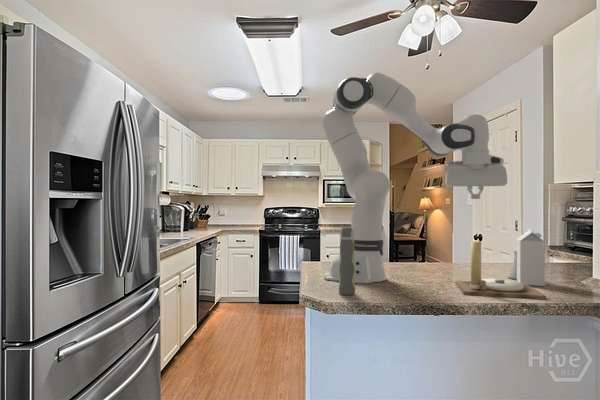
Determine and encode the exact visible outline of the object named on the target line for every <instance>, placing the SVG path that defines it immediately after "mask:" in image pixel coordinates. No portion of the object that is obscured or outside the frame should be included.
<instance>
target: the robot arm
mask: <svg viewBox="0 0 600 400" xmlns="http://www.w3.org/2000/svg"><path fill="white" fill-rule="evenodd" d="M332 100H333V102H332V103H333V104H332V109H330V110H329V111H327V112H326V113H325V114H324V115H323V117H322V119H321V121H322V126H323V130H324V134H325V137H326V139H327V141H328V143H329V145H330V148H331V150H332V152H333V154H334V156H335V159H336V161H337V163H338V165H339V169H340V170H341V173H342V178H343V180H344V184H345V186H346V192H347V194H348V195H349V196H350V197H351V198H352V199H353V200H354V207H353V212H352V214H351V215H352V216H351V218H350V219H351V220H350V221H351V228H352V229H353V230H354V266H355V283H356V284H370V283H376V282H377V283H378V282H379V283H380V282H383V281H386V280H388V279H387V275H386V271H385V267H384V266H385V265H384V258H383V257H384V254H385V252H384V250H385V247H384V246H385V244H384V239H383V215H384V209H385V205H386V200H387V195H388V193H389V191H390V189H391V182H390V179H389V177H388V176H387V175H386V174H385V173H383V172H382V171H379V170H376V169H371V168H370V167H371V166H370V162H369V159H368V150H367V148H366V146H365V143H364V141H363V139H362V137H361V135H360V133H359V131H358V129H357V127H356V125H355V123H354V118H353V116H354V115H355V114H356V113H357V112H358V111H360V109H362V107H363V106H364V105H366V104H369V105H373V106H376V107H377V108H378V109H379V110H381V111H382V112H384V113H385V114H386V115H388V116H390V117H391V118H393V119H394V120H395V121H396V122H398V123H400V125H402V126H403V127H404V128H406V129H407V130H408V131H409V132H411V133H412V134H413V135H415V136H416V137H417V138H418V139H419V140H421V141H422V142H423V143H424V145H425V146H426V147H427V150H428V151H429V152H430V153H431V154H432V155H435V156H437V157H444V156H447V155H449V154H450V153H453V152H456V151H458V150H459V151H461V160H457V161H456V160H455V161H452V160H451V161H448V162H446V163H445V164H444V173H445V178H444V179H445V180H444V181H445V182H444V184H445V186H446V187H466V189H467V191H468V193H469V194H470V200H480V199H481V194H482V193H483V192H484V187H504V186H506V185H507V184H508V173H507V168H506V167H505V165H503V164H504V161H505V160H504V158H502V157H500V156H495V155H492V154H490V150H489V146H488V145H489V139H490V138H489V137H490V131H489V124H488V120H487V118H486V117H485V116H482V115H480V114H469V115H468V114H467V115H465V116H464V117H463V118H461V119H460V120H457V121H455V122H453V123H450V124H447V125H445V126H443V127H440V128H436V127H434V126H432V125H431V124H430V123H429V122H428V121H427V120H425V119H423V118H422V117H421V116H420V115H419V113H418V112H417V110H416V108H417V107H416V104H417V101H416V97H415V94H414V93H413V92H412V90H410V89H409V88H407V87H406V86H405V85H404V84H402V83H400V82H399V81H397V80H396V79H394V78H392V77H390V76H388V75H386V74H383V73H381V72H374V73H371V74H369V76H367V78H365V77H356V76H355V77H353V76H352V77H347V78H345V79H343V80H342V81H341V82H340V83H339V85H338V86H337V88H336V89H335V92H334V96H333V99H332ZM473 187H477V189H478V190H479V191H478V192H477V193H474V192H473V191H472V190H473ZM339 269H340V253H339V254H338V255H337V256H336V257H334V258H333V259H332V261H331V263H330V268H329V271H327V272H325V273H323V274H324V275H323V279H325V280H328V281H336V282H339V279H340V271H339Z"/></svg>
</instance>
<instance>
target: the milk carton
mask: <svg viewBox="0 0 600 400" xmlns="http://www.w3.org/2000/svg"><path fill="white" fill-rule="evenodd" d="M545 248H546V246H545V241H544V240H543V239H542V234H541V233H539V232H538V231H535V232H534V231H533V229H532V228H530V227H527V231H526V232H524V233H523V234H521V235H520V236H519V237H517V238H516V251H517V280H516V282H519V283H522V284H527V285H529V286H531V287H532V286H535V287H545V286H546V282H545V281H546V279H545V278H546V276H545V275H546V273H545V270H546V269H545V266H546V265H545V261H546V259H545V258H546V256H545V254H546V253H545Z"/></svg>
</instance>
